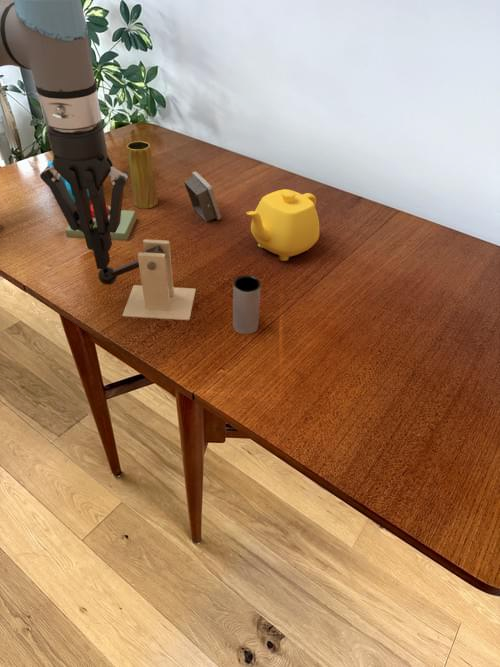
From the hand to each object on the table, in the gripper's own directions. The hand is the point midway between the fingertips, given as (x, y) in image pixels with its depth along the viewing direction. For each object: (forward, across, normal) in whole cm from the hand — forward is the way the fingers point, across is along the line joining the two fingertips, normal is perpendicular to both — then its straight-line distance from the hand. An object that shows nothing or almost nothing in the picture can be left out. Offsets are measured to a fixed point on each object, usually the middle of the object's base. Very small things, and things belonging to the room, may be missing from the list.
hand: (103, 264), depth 80 cm
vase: (+9, -2, +39) cm, 40 cm away
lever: (+1, +5, 0) cm, 6 cm away
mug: (+9, -20, +39) cm, 45 cm away
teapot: (+9, +31, +22) cm, 39 cm away
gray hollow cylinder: (+9, +25, -5) cm, 27 cm away
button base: (+9, -9, +26) cm, 29 cm away
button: (+5, -9, +26) cm, 28 cm away
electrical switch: (+9, +13, +35) cm, 38 cm away
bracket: (+9, +9, 0) cm, 13 cm away
